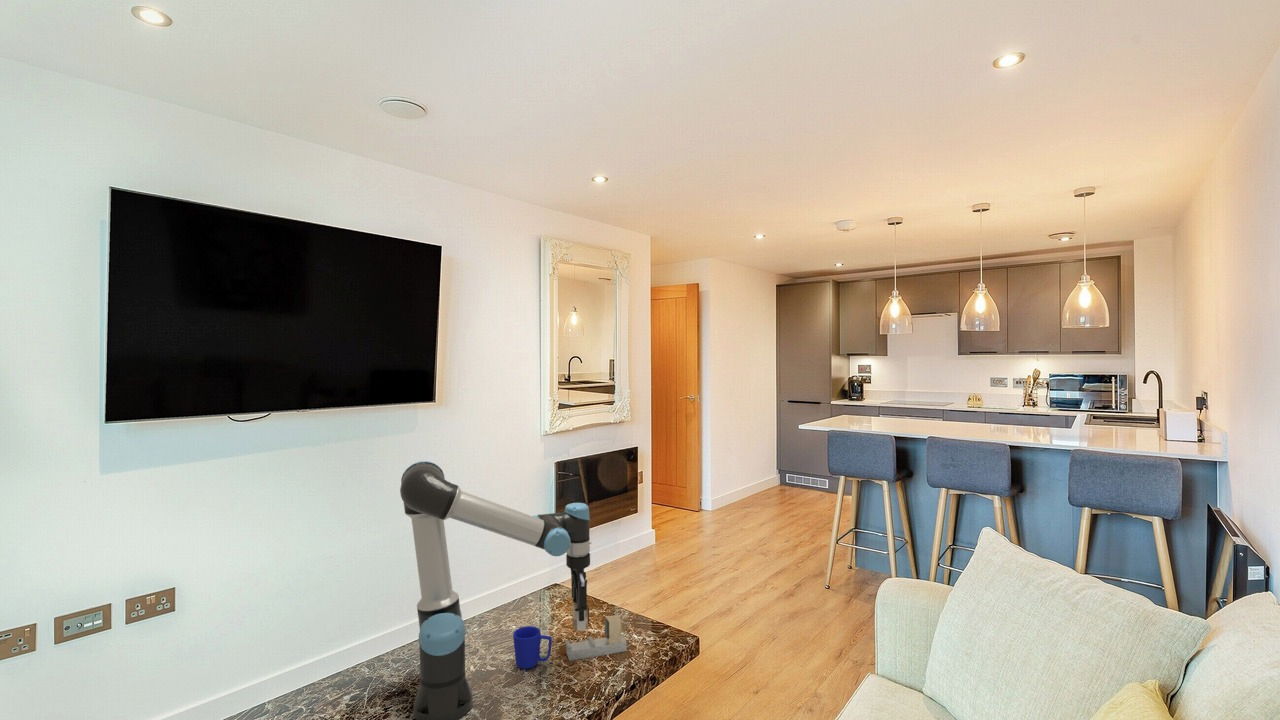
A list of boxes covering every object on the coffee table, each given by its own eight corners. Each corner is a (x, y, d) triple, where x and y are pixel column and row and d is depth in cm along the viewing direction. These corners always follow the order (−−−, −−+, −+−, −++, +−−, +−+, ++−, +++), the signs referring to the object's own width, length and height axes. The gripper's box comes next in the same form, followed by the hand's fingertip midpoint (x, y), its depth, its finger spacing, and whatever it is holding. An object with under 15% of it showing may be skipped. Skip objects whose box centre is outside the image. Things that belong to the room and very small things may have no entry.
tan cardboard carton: (575, 631, 182) (574, 609, 182) (572, 625, 186) (572, 604, 186) (589, 628, 184) (589, 606, 184) (586, 623, 188) (586, 601, 188)
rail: (568, 661, 181) (568, 629, 181) (565, 653, 186) (565, 622, 186) (626, 651, 187) (626, 620, 187) (622, 643, 192) (621, 613, 192)
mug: (546, 674, 174) (546, 641, 174) (509, 670, 177) (508, 637, 176) (556, 660, 182) (555, 628, 182) (520, 656, 185) (519, 625, 185)
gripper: (596, 560, 178) (597, 637, 178) (583, 543, 194) (585, 613, 194) (571, 563, 175) (573, 641, 176) (561, 546, 191) (562, 616, 192)
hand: (579, 626), depth 185 cm, fingers closed on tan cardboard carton, 4 cm apart
